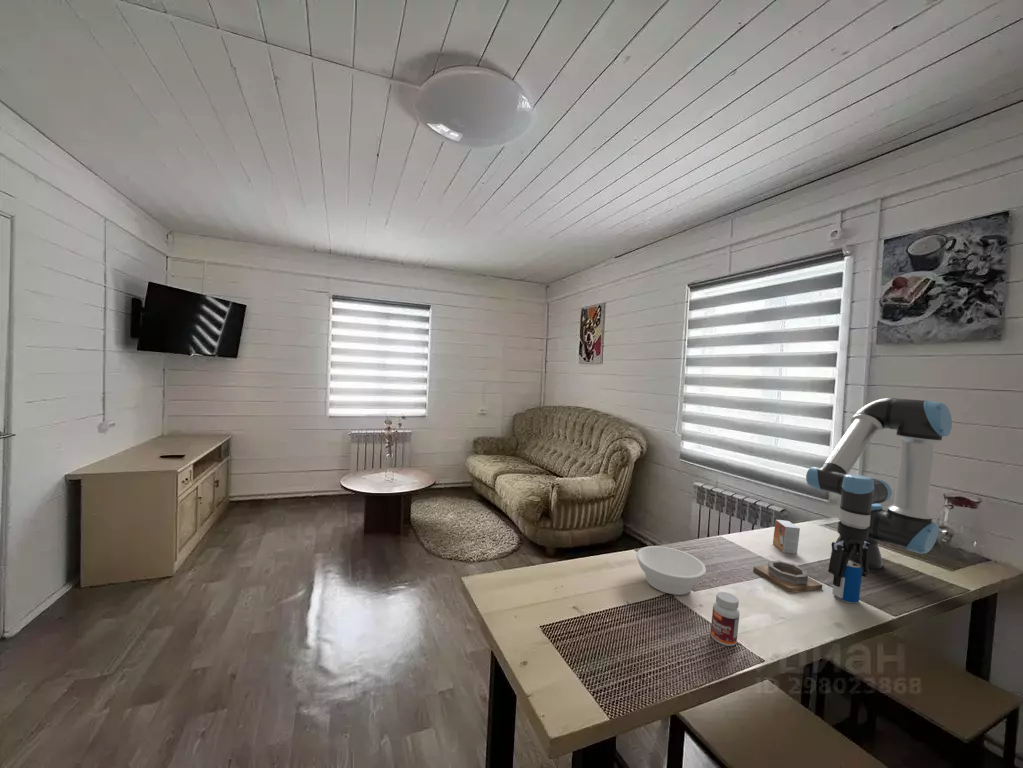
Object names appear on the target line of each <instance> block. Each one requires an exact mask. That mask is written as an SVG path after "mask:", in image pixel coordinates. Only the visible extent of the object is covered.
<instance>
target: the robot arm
mask: <svg viewBox="0 0 1023 768" xmlns="http://www.w3.org/2000/svg"><path fill="white" fill-rule="evenodd" d="M952 421H953V420H952V415H951V411H950V409H949V407H948V406H947V405H946V404H945V403H943V402H938V401H934V400H933V401H932V400H919V399H908V398H896V397H886V398H885V397H884V398H880V399H876V400H873V401H871V402H869V403H867V404H865V405H864V406H862V407H861V408H860V409H858V410H857V411H856V412H855V413H854V414H853V415H852V417H851V418H850V423H851V424H850V426H849V427H848V428H847V430H846V431H845V433H844V434H843V435H842V437H841V438H840V440H838V443H837V444H836V445H835V447H834V448H833V449H832V451H831V452H830V454H829V455H828V457H826V460H825V461H824V462H823V464H822V465H821V466H820V467H818V466H811V467H810V468H808V470H807V471H806V475H805V479H806V482H807V483H806V484H807V485H808V486H809V487H811V488H815V489H817V490H819V491H825V492H828V493H831V494H836V495H840V505H839V514H838V515H839V516H838V523H837V533H838V534H839V536H838V537H837V540H836V541H835V542H834V541H832V542H831V552H830V553H831V554H830V559H829V564H828V570H827V571H828V573H829V574H832V575H833V578H832V579H833V580H832V585H833V586H832V594H833V596H835V595H836V596H838V597H840V598H843V592H844V583H845V578H844V577H843V575H844V572H845V569H846V567H847V564H848V561H849V560H852V561H854V562H856V563H859V564H860V565H861V569H862V578H861V582H862V580H863V578H866V577H867V575H868V573H869V571H870V569H871V570H872V569H875V570H877V569H882V568H883V562H884V561H883V559H882V554H881V551H880V548H879V542H883V543H885V544H889V545H892V546H895V547H898V548H901V549H904V550H906V551H908V552H913V553H914V552H915V553H917V554H923V555H924V554H927V553H928V552H930V551H931V550H932V549H933V547H934V546H935V543H936V542H937V540H938V536H939V531H940V529H939V525H938V524H936V523H935V522H933V516H932V515H931V514H930V513H929V512H928V506H929V497H930V495H929V494H930V487H931V479H932V471H933V464H934V463H933V462H934V457H935V456H934V454H935V449H936V448H935V446H936V445H937V444H939V443H940V442H942V441H943V437H948V436H949V435H950V434H951V431H952V430H951V429H952V427H953V425H952V424H953V422H952ZM885 429H889V430H895V431H896V437H898V438H899V439H900V451H899V457H898V458H899V459H898V465H897V466H898V467H897V476H896V483H895V490H894V491H895V493H894V499H893V500H894V502H893V504H891V505H889V506H888V507H887V510H886V509H884V506H883V505H882V504H883V503H884V502H885V501H888V500H890V499H891V497H892V494H893V490H892V487H891V486H890V485H889V483H887V482H886V481H884V480H882V479H879V478H871V477H869V476H866V475H860V474H856V473H855V474H853V473H852V474H851V473H850V471H851V470H852V469H853V467H854V466H855V464H856V463H857V462H858V460H859V459H860V457H861V456H862V454H863V453H864V451H865V450H866V448H868V447H867V446H868V445H869V444H870V442H871V441H872V440H873V438H874V436H875V435H877V434H880V433H882V431H883V430H885ZM854 566H857V565H856V564H854ZM839 572H840V573H839ZM861 587H862V586H861ZM861 587H860V589H861ZM836 596H835V597H836Z"/></svg>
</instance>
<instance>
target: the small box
mask: <svg viewBox="0 0 1023 768" xmlns="http://www.w3.org/2000/svg"><path fill="white" fill-rule="evenodd" d="M773 530H774V531H773V538H772V539H773V540H772V544H773V546H775V547H777V548H778V550H780V551H781V552H782V553H789V554H795V555H796V554H798V547H799V541H800V540H799V539H800V530H801V529H800V528H799V527H798V526H797V525H795V524H793V523H792V522H791V521H790V520H783V519H775V521H774V529H773Z"/></svg>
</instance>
